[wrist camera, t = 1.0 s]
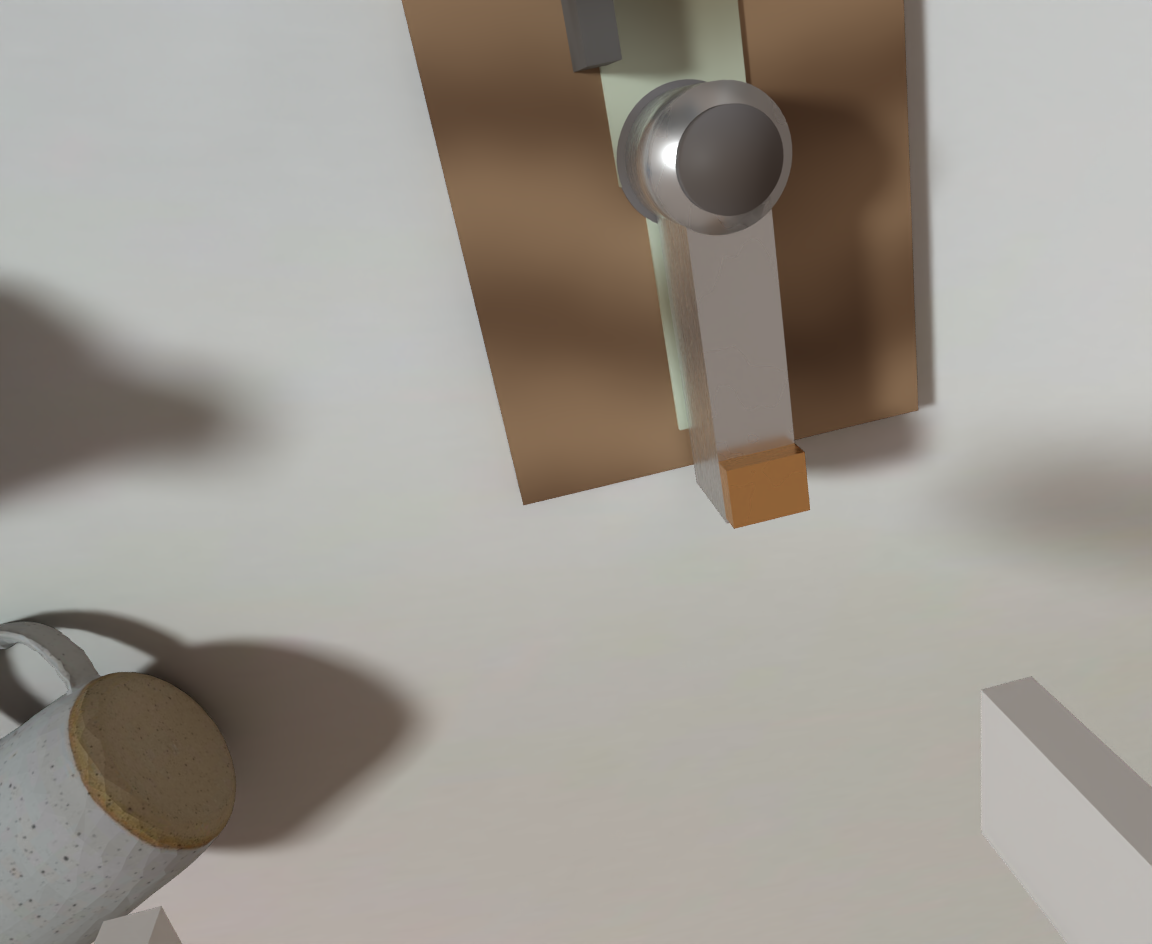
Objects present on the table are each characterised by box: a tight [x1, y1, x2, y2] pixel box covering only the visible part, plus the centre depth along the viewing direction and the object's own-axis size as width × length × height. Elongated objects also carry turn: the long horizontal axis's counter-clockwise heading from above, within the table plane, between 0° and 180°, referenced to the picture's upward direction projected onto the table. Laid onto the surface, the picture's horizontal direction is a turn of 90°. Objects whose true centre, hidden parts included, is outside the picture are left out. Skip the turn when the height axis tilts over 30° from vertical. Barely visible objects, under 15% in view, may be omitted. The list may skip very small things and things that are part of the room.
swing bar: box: [625, 80, 810, 529], centre depth 26 cm, size 13×4×4 cm, turn 11°
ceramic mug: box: [0, 621, 236, 944], centre depth 29 cm, size 11×8×8 cm
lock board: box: [402, 0, 918, 505], centre depth 25 cm, size 24×15×6 cm, turn 11°
